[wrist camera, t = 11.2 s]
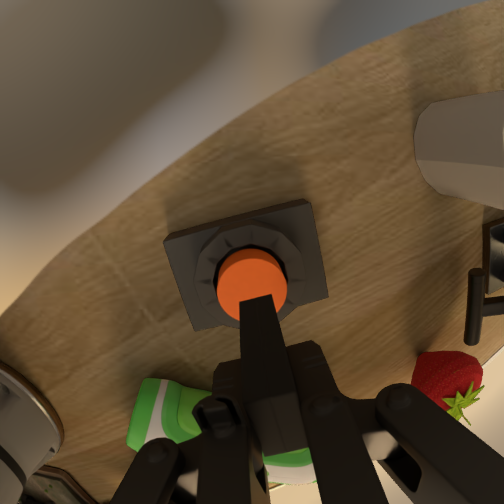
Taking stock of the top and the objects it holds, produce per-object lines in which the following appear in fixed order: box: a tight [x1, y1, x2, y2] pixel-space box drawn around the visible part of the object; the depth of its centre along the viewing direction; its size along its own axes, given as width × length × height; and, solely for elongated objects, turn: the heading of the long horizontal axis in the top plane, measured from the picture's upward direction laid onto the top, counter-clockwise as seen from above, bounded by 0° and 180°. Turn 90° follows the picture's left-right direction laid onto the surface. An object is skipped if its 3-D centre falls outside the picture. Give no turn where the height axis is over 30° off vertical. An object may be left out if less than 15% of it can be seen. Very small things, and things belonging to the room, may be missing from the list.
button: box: [217, 248, 287, 321], centre depth 19 cm, size 4×4×2 cm
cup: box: [413, 90, 504, 210], centre depth 17 cm, size 8×8×10 cm
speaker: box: [126, 378, 317, 485], centre depth 24 cm, size 18×7×8 cm, turn 69°
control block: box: [163, 199, 329, 331], centre depth 22 cm, size 10×7×4 cm
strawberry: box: [411, 351, 484, 426], centre depth 23 cm, size 6×8×10 cm
